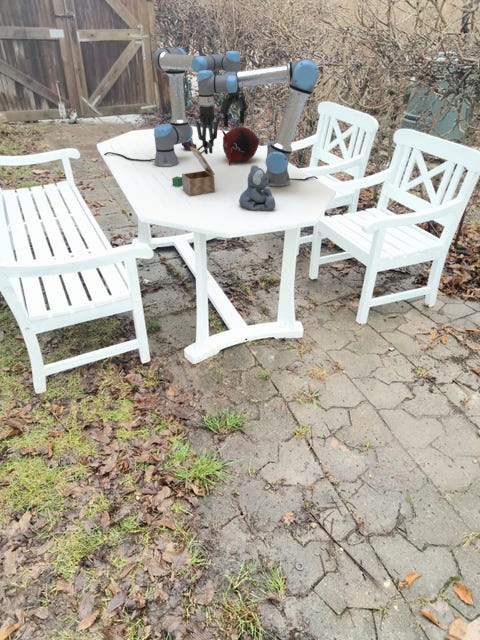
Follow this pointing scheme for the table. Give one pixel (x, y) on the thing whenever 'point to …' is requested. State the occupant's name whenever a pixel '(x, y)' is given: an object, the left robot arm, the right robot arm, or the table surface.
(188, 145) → the rock
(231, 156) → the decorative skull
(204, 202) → the table surface
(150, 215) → the table surface
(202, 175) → the chest
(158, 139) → the left robot arm
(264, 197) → the koala plush
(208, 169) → the lid
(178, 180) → the block
